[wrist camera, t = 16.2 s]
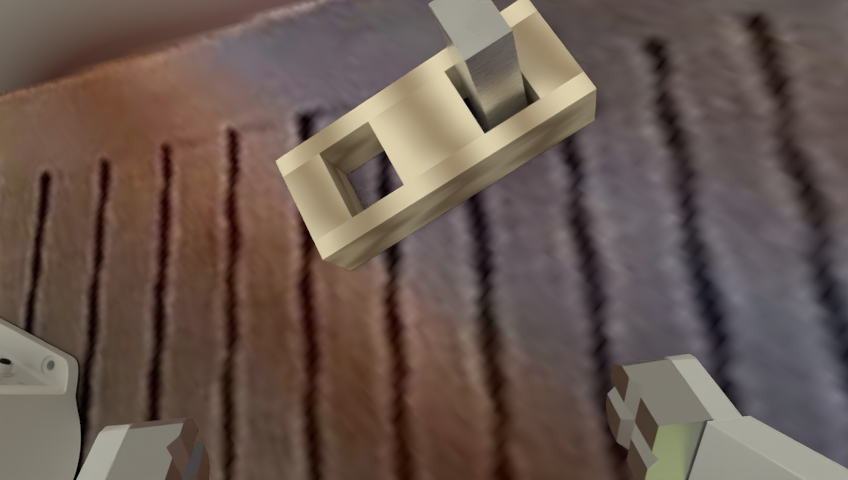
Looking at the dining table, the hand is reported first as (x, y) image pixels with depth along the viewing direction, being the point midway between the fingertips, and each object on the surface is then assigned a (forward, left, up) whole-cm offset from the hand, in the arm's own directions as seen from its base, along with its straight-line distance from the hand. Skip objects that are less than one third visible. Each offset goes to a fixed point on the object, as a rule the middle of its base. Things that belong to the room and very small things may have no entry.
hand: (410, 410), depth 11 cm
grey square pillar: (-12, +16, -29) cm, 35 cm away
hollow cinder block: (-15, +11, -29) cm, 35 cm away
